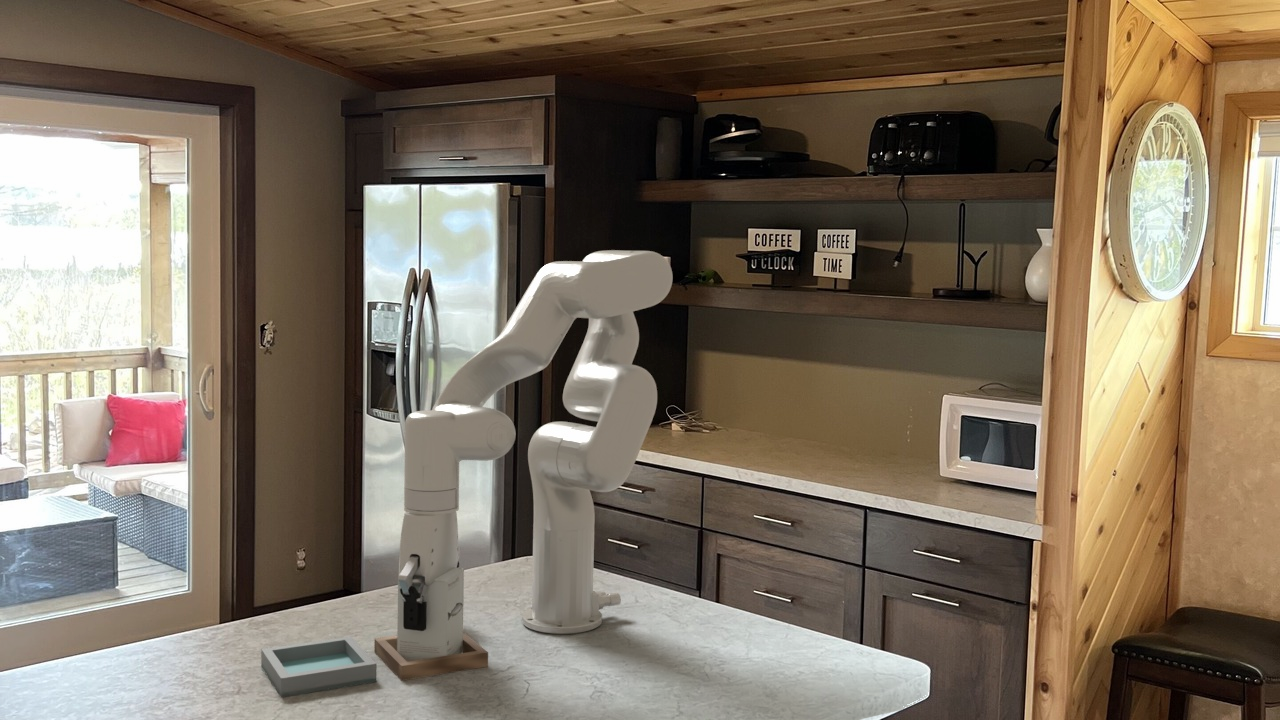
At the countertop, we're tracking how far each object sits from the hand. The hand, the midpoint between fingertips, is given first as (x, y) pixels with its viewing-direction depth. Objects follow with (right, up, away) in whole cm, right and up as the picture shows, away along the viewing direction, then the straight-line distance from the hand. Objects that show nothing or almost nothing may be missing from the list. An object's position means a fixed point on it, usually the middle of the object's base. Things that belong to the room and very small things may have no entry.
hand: (430, 619), depth 160 cm
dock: (-14, -6, -6) cm, 17 cm away
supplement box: (0, -6, +1) cm, 6 cm away
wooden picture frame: (0, -6, 0) cm, 6 cm away
